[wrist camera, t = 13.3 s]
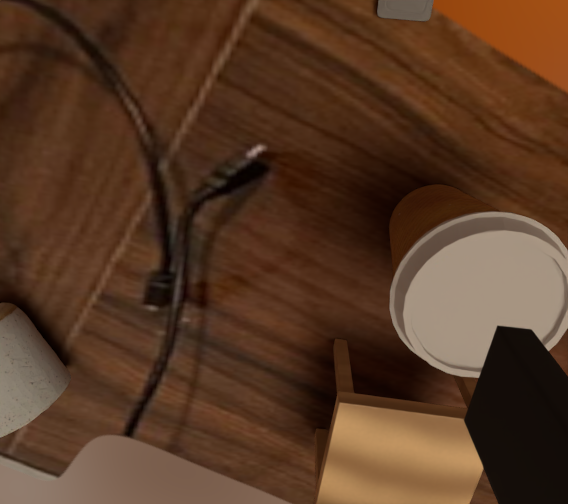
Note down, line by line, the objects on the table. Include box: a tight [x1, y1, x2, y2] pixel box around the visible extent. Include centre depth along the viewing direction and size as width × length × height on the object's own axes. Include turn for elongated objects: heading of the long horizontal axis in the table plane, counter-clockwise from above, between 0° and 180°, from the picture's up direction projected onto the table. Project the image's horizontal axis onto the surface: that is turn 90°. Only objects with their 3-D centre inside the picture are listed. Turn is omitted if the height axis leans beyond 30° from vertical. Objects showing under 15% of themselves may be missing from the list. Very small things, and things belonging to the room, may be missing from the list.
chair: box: [313, 339, 484, 504], centre depth 34 cm, size 11×11×18 cm
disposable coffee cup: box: [389, 184, 568, 378], centre depth 30 cm, size 10×10×12 cm
